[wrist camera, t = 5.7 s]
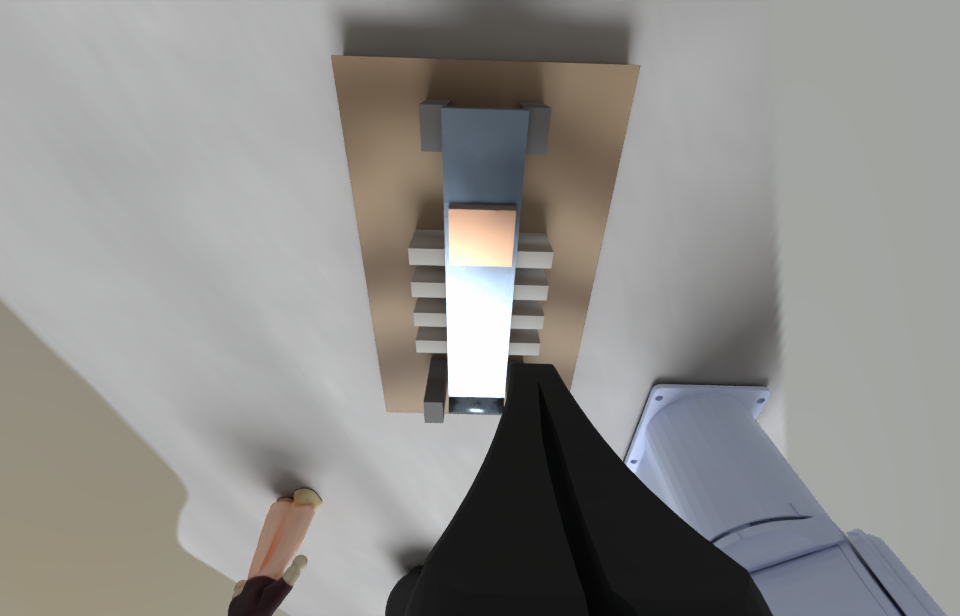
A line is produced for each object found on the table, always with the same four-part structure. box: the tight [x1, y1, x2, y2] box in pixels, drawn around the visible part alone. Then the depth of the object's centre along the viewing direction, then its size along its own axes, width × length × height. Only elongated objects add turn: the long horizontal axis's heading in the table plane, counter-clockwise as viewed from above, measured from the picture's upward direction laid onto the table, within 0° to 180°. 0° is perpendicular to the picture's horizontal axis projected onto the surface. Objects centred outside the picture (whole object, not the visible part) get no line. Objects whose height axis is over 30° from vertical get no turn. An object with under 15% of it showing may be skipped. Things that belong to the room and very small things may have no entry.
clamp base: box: [331, 55, 640, 423], centre depth 19 cm, size 20×12×5 cm, turn 178°
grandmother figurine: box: [228, 489, 322, 616], centre depth 29 cm, size 8×4×13 cm, turn 136°
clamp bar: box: [441, 106, 529, 415], centre depth 18 cm, size 15×3×2 cm, turn 178°
